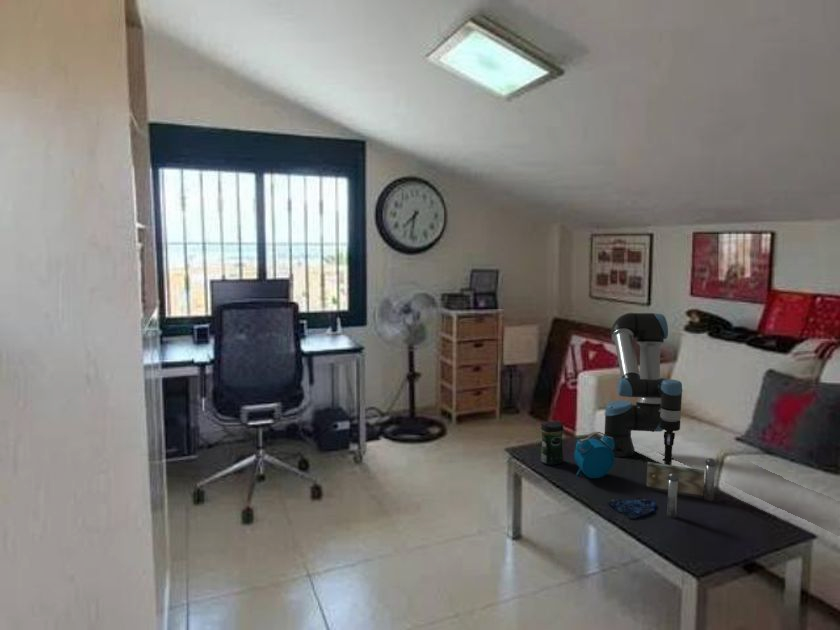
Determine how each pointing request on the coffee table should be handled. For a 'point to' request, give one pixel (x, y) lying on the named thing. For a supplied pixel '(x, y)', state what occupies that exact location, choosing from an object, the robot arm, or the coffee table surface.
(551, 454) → the coffee jar
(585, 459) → the alarm clock
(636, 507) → the rock
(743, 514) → the coffee table surface
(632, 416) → the robot arm
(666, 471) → the gate
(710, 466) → the gate posts
